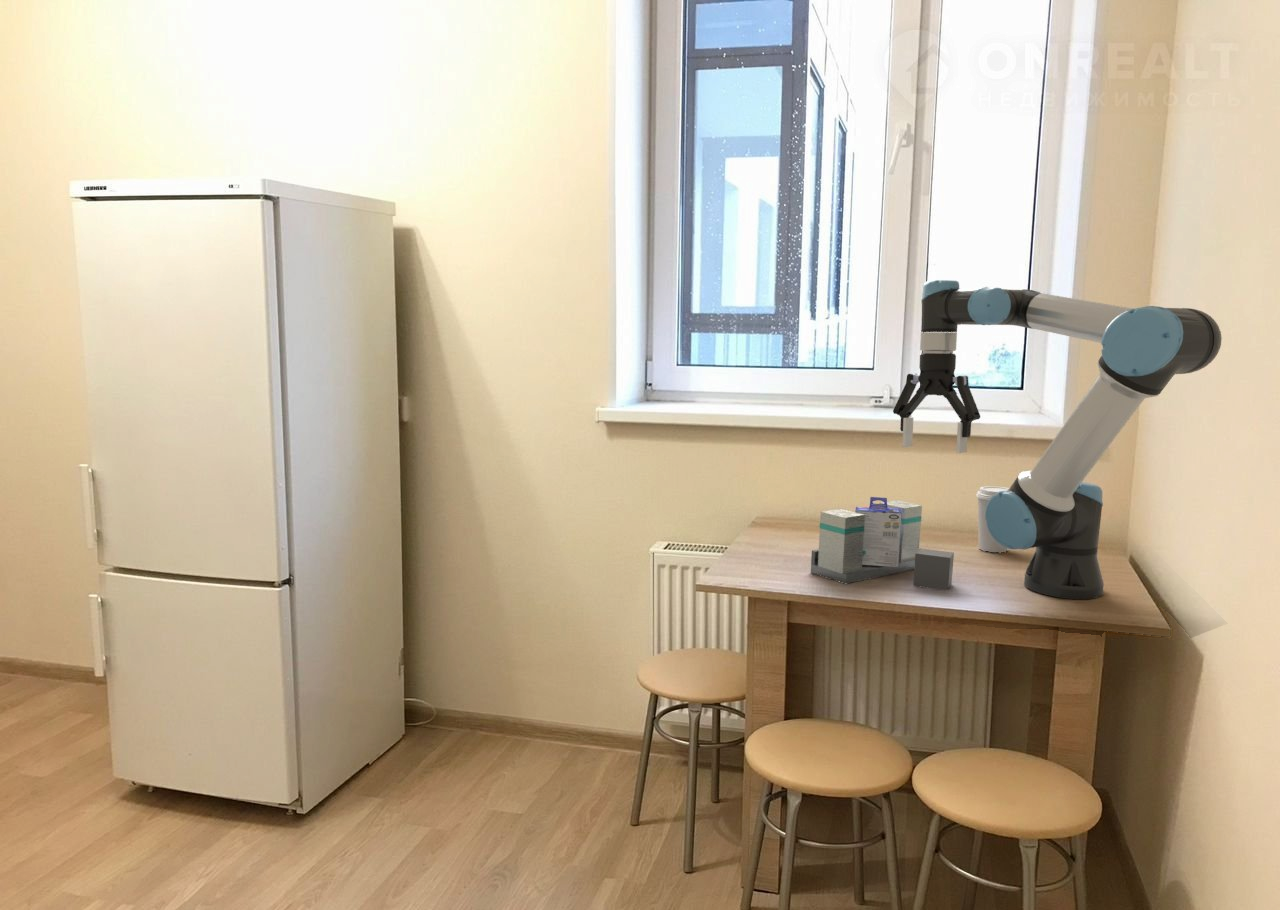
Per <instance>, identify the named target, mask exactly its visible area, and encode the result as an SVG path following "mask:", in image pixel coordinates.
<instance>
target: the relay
mask: <svg viewBox="0 0 1280 910" xmlns="http://www.w3.org/2000/svg"><path fill="white" fill-rule="evenodd" d="M954 556H955V553H954V552H952V551H946V550H945V551H943V550H937V549H928V548H922V547H921V548H920V547H919V550H918V551H917V552H916V554H915V568H914V569H913V570H914V571H913V585H915V586H914V587H919V586H921V587H922V588H926V587H928V588H927V589H934V590H942V591H949V590H950V588H951V586H952V583H953V571H954V570H953V568H954ZM913 585H912V586H913Z"/></svg>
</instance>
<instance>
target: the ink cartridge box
mask: <svg viewBox="0 0 1280 910" xmlns="http://www.w3.org/2000/svg"><path fill="white" fill-rule="evenodd" d="M869 499H870V501H869V506H856V507H855V511H854V512H856V513H860V514H864V515H865V521H864V526H865V527H864V539H863V556H862V565H872V566H886V567H898V566H899V552H900V539H901V522H902V512H901V510H900V509H899V508H888V507H887V501H888V497H877V496H876V497H875V496H870V498H869ZM875 501H877V502H878V501H881V502H884V504H879V503H874V502H875Z"/></svg>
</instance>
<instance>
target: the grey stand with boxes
mask: <svg viewBox="0 0 1280 910" xmlns="http://www.w3.org/2000/svg"><path fill="white" fill-rule="evenodd" d="M878 504H884V502H883V501H881V502H879V503H878ZM887 507H888V508H899V509H900V510H901V512H902V522H901V539H900V552H899V566H898V567H886V566H872V565H862V556H863V539H864V527H865V526H864V521H865V515H864V514H860V513H856V512H855V511H850V510H846V509H842V508H837V509H831V510H830V509H829V510H823V511H820V517H819V536H818V537H819V539H818V549H813V550H811V556H810V557H811V560H810V561H811V562H810V574H812V573H814V574H813V575H816V574H818V575H817V576H819V575H821V576H820V577H822V576H824V577H823V578H825V577H827V578H826V579H828V578H830V579H829V580H831V579H834V580H837V581H840V582H839V583H841V582H843V583H842V584H844V583H848V584H851V583H850V582H853V583H856V582H855V581H857V582H860V581H859V580H862V581H865V580H864V579H866V580H869V578H871V579H875V578H879V576H880V577H884V576H889V575H892V574H897V573H903V572H905V571H906V572H907V571H912V570H914V568H915V554H916V552H917V551H918V550H919V549H920V542H921V541H920V539H921V538H920V537H921V524H922V518H923V517H922V510H923V505H920V504H917V503H912V502H908V501H903V500H898V499H894V500H890V501H888V500H887ZM888 574H889V575H888ZM883 575H884V576H883ZM874 577H875V578H874ZM834 580H833V581H834ZM837 581H836V582H837Z"/></svg>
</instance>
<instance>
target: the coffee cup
mask: <svg viewBox="0 0 1280 910" xmlns="http://www.w3.org/2000/svg"><path fill="white" fill-rule="evenodd" d="M1009 488H1010V487H1004V486H995V485H994V486H991V485H990V486H989V485H988V486H981V487H979V490H978V491H977V492H976V495H975V497H976V498H977V517H978V518H977V521H978V523H977V524H978V526H977V528H978V533H977V535H978V539H977V540H978V550H979V549H981V550H984V551H983V552H985V551H989V552H988V553H990V552H1005V553H1007V552H1006V551H1008V548H1005V547H1003V546H1002V545H1000V544H999V543H998V542H996V541H995V539H994V538H993V537H992V536H991V534H990V532H989V530H988V528H987V521H986V519H985V509H986V505H987V503H988V501H989V499H990V498H991V497H992V496H993V495H995V494H997V493H999V492H1000V491H1007V490H1009ZM981 550H980V551H981Z"/></svg>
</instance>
